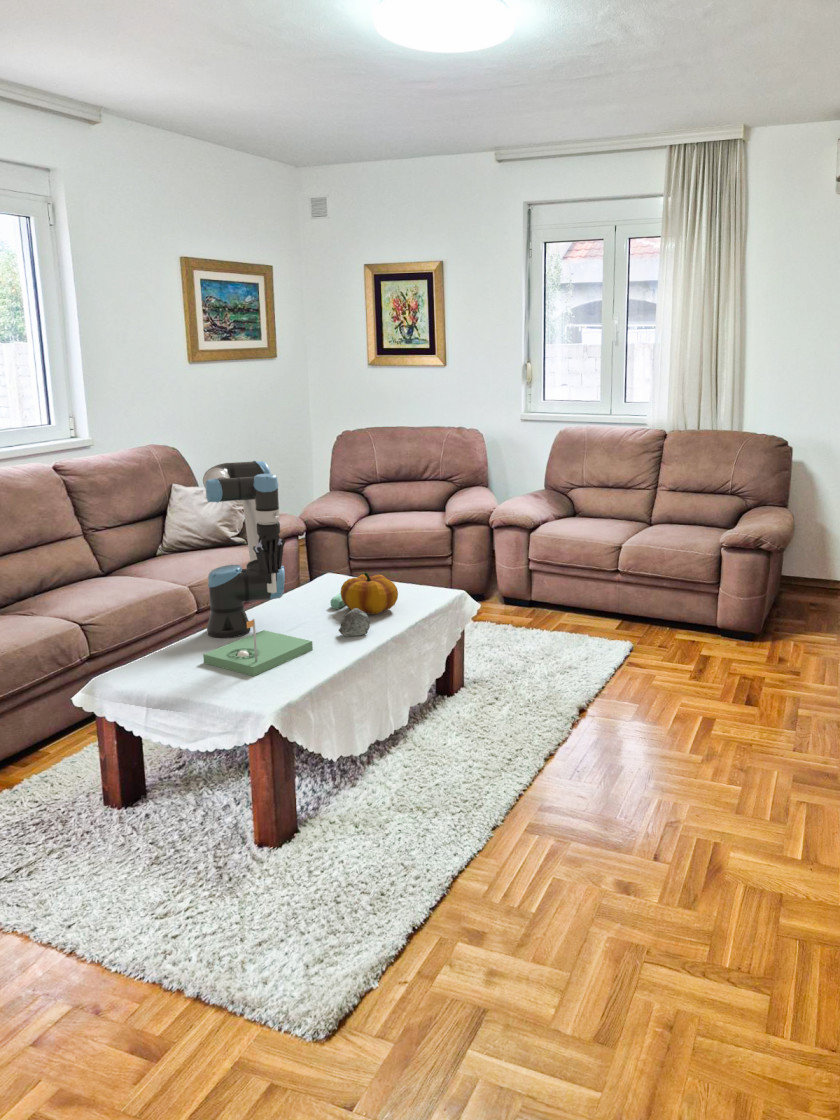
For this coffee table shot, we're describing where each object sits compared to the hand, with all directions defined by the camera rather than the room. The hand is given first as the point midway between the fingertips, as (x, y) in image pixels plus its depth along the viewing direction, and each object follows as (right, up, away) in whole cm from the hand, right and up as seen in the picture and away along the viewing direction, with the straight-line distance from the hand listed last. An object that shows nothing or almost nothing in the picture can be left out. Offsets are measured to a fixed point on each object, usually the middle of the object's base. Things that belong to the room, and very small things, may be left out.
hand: (272, 592), depth 302 cm
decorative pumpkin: (+30, -9, +45) cm, 55 cm away
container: (+21, -6, +58) cm, 62 cm away
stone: (+26, -15, +19) cm, 36 cm away
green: (-5, -21, -2) cm, 22 cm away
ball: (-8, -20, -8) cm, 23 cm away
